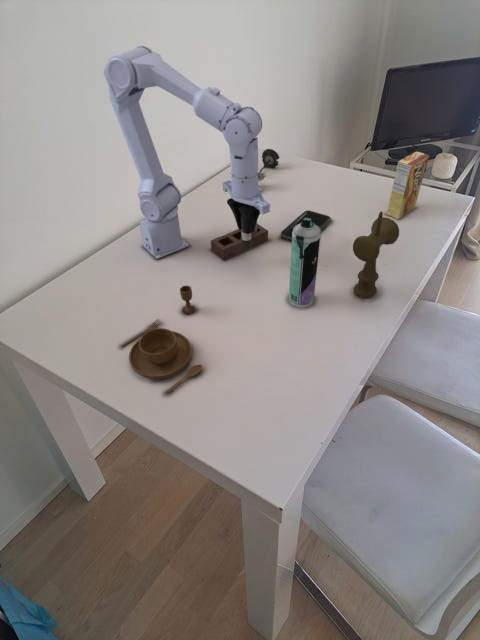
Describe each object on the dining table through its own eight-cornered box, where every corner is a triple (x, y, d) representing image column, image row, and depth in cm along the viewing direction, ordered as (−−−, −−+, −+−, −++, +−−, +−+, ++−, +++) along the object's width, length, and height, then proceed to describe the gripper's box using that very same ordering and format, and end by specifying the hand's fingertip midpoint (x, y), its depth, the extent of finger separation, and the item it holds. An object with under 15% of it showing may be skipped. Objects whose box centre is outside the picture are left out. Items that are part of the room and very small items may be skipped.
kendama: (387, 287, 97) (407, 205, 83) (366, 309, 92) (384, 226, 78) (362, 277, 100) (378, 197, 86) (341, 298, 95) (355, 216, 81)
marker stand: (223, 260, 107) (223, 250, 105) (211, 250, 110) (210, 240, 108) (268, 240, 113) (268, 230, 111) (255, 231, 116) (254, 222, 114)
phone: (279, 233, 113) (306, 209, 121) (279, 237, 113) (306, 213, 122) (305, 242, 109) (332, 216, 118) (305, 246, 110) (331, 220, 119)
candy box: (402, 203, 125) (415, 150, 114) (415, 208, 122) (430, 154, 112) (385, 214, 120) (397, 160, 110) (399, 219, 118) (412, 165, 108)
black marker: (245, 249, 101) (244, 219, 95) (239, 245, 102) (238, 215, 97) (253, 246, 102) (253, 216, 96) (247, 242, 103) (246, 212, 98)
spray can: (312, 309, 92) (321, 227, 79) (287, 306, 93) (291, 224, 80) (314, 293, 96) (323, 212, 83) (290, 290, 97) (294, 210, 84)
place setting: (110, 351, 85) (102, 329, 81) (188, 303, 95) (184, 282, 91) (163, 401, 76) (158, 379, 72) (244, 342, 86) (243, 320, 82)
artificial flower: (284, 172, 146) (291, 146, 138) (251, 208, 134) (257, 182, 125) (261, 161, 147) (267, 135, 139) (227, 195, 135) (231, 169, 127)
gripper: (281, 178, 87) (280, 236, 96) (239, 157, 96) (241, 212, 105) (254, 189, 84) (255, 248, 93) (213, 166, 93) (217, 221, 102)
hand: (246, 230), depth 99 cm, fingers closed on black marker, 2 cm apart
